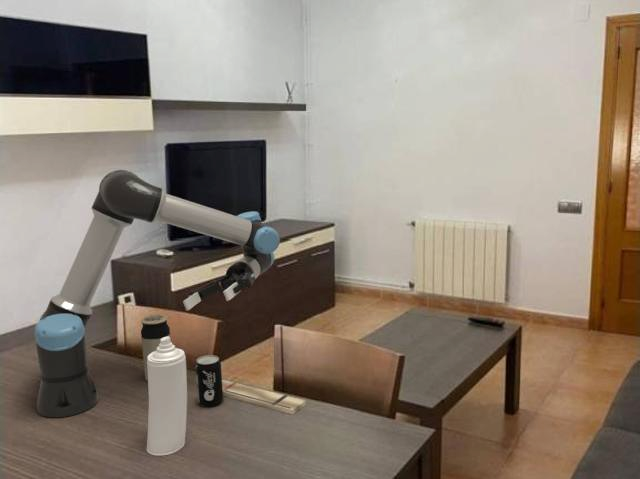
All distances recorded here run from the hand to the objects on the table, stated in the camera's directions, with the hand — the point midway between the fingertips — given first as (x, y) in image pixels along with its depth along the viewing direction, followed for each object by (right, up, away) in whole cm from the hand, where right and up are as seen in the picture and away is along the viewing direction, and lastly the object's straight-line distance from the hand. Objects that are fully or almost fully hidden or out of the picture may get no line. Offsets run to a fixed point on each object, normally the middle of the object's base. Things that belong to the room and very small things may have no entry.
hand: (205, 301), depth 165 cm
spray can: (-4, -31, -21) cm, 37 cm away
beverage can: (+2, -27, -2) cm, 27 cm away
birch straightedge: (+12, -26, 0) cm, 29 cm away
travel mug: (-16, -24, +15) cm, 32 cm away
